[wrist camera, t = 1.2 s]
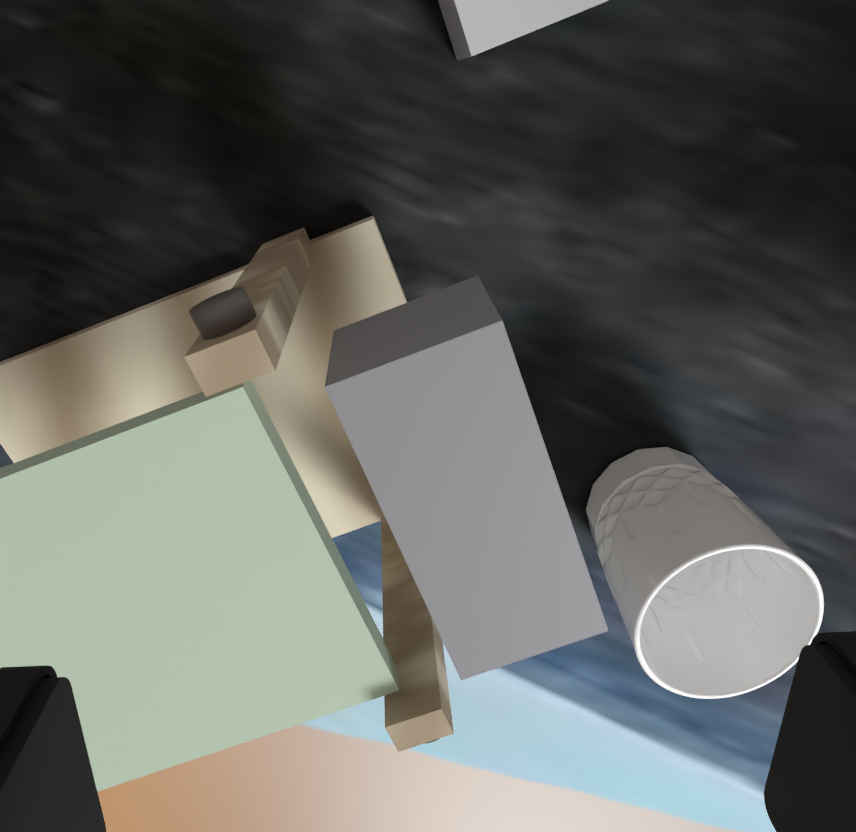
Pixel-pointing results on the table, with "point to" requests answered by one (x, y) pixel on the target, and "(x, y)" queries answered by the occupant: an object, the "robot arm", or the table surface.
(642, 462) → the white cup
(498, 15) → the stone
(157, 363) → the frame
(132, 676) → the trapdoor
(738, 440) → the table surface
